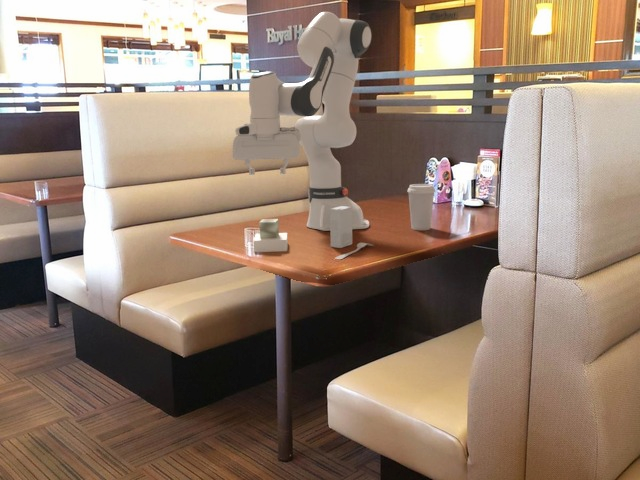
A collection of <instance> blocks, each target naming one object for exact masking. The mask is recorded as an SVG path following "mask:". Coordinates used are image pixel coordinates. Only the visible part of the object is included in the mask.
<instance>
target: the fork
mask: <svg viewBox="0 0 640 480" xmlns="http://www.w3.org/2000/svg"><path fill="white" fill-rule="evenodd" d="M365 246H371V247H374V245H373V244H371V243H369V242H368V243H365V242H359V243H357V244H356V247H357V248H355V250H353V251H350V252H346V253H343V254H340V255H338V256H336V257H334V258H335V259H342V260H343V259H345V258H347V257H348V256H350V255H351V254H354V253H357V252H358V251H360V249H361V248H365ZM335 259H334V260H335Z"/></svg>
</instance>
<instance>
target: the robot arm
mask: <svg viewBox="0 0 640 480" xmlns="http://www.w3.org/2000/svg"><path fill="white" fill-rule="evenodd" d="M372 34H373V33H372V29H371V26H370V25H369V23H368V22H367V21H364V20H359V19H350V18H341V17H340V18H339V17H338V16H337V15H336V14H335V13H333V12H330V11H322V12H319V13H318V14H317V15H316V16H315V17H314V18H313V19H312V20H311V21H310V23H309V24H308V25H307V26H306V28H305V29H304V31H303V32H302V34H301V35H300V37H299V39H298V42H297V46H296V50H297V53H298V56H299V58H300V60H301V61H302V62H303V63H304V64H305V65H306V66H308V67H310V68H312V69H311V72H310V74H309V77H308V78H307V79H306V80H304V81H301V82H291V83H289V82H288V83H286V82H284V81H282V80H281V79H279V78H278V77H277V74H276V73H277V72H274V71H269V70H268V71H260V72H256V73H253V74H252V75H251V76H250V80H249V84H248V85H249V86H248V99H249V106H250V116H249V118H250V119H249V121H250V122H249V123H245V124H243V125H240V126H238V127H236V128H235V131H234V132H235V134H236V136H235V137H234V138H233V141H232V142H233V143H232V158H233V159H234V160H235V161H243V160H244V164H245V165H246V167H247V169H248V174H249V175H251V176H253V175H254V176H255V174H256V172H255V171H256V170H255V169H256V168H255V167H254V168H253V167H252V165H251V164H250V163H251V160H252V161H253V160H283V163H284V165H283V167H280V168H279V170H280V173H279V174H280V175H286V174H287V170H286V169H287V167H288V165H289V162H290V159H291V160H292V159H294V160H295V159H299V157H300V156H301V147H302V150H303V151H304V154H305V157H306V159H307V163H308V168H309V169H308V170H309V172H308V173H309V187H308V201H309V211H308V218H307V223H306V227H307V228H310V229H315V230H320V231H323V232H325V231H330V209H332V208H336V207H340V206H348V207H352V230H363V229H367V228H369V227H370V221H369V220H368V219H366V218H364V213H363V210H362V208H361V207H360V206H359V204H357V203H356V202H354V201H353V200H352V199H351V198H349V197H348V194H349V190H348V189H347V188H346V187H344V186H342V174H341V173H342V166H341V164H340V161H338V160H337V159H336V158H335V157H334V155H333V153H332V150H331V148H332V149H339V148H345V147H348V146H351V145H352V144H353V143H354V141H355V139H356V137H357V126H356V124H355V121H354V120H353V119H352V117H351V114H350V103H351V98H352V95H353V92H354V91H353V90H354V87H355V84H356V80H357V75H358V69H359V59H360V58H361V57H362V56H363V54H364V53H365V52H366V51H367V50H368V49H369V47H370V45H371V43H372V36H373V35H372ZM322 104H323V105H324V110H323V114H322V115H319V114H318V115H316V114H317V113H318V111H319V110H320V108H321V105H322ZM281 116H287V117H289V116H294V117H295V116H298V117H301V118H299V119H297V120H296V122H295V123H294V126H293V127H292V126H291V127H285V126H284V127H281ZM300 146H301V147H300Z"/></svg>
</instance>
